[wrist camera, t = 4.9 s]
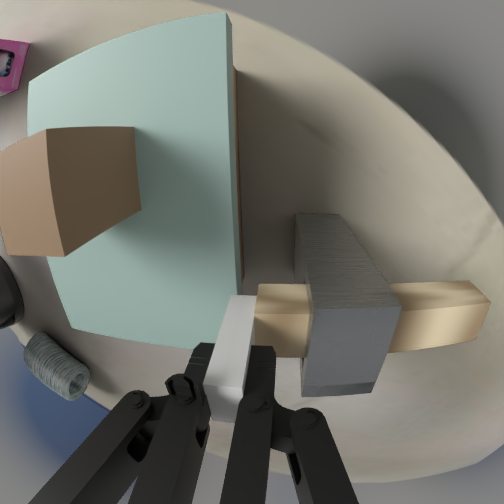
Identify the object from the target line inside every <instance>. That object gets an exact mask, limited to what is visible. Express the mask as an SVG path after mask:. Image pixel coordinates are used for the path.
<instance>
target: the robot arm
mask: <svg viewBox="0 0 504 504" xmlns="http://www.w3.org/2000/svg"><path fill="white" fill-rule="evenodd" d="M256 298H257V296H249V295H231V297H230V300H229V303H228V306H227V309H226V312H225V315H224V319H223V322H222V325H221V328H220V331H219V334H218V337H217V341H216V343H204V342H200V343H199V344H198V345H197V346H196V347H195V348H194V350H193V353H192V355H191V358H190V360H189V364H188V365H187V368H186V370H185V373H184V374H176V375H173V376H171V377H170V378H168V379H167V380H166V382H165V385H166V388H167V390H168V393H169V395H167V396H160V397H149V395H148V394H147V393H146V392H144V391H140V390H135V391H131V392H129V393H127V394H126V395H125V396H124V397H123V398H122V399H121V400H120V401H119V402H118V404H117V405H116V406H115V407H114V408H113V409H112V410H111V411H110V413H109V414H108V415H107V416H106V417H105V418H104V419H103V420H102V422H101V423H100V424H99V425H98V426H97V427H96V428H95V429H94V430H93V432H92V433H91V434H90V435H89V436H88V437H87V438H86V439H85V441H84V442H83V443H82V444H81V445H80V446H79V447H78V448H77V450H76V451H75V452H74V453H73V454H72V455H71V456H70V457H69V459H68V460H67V461H66V462H65V463H64V464H63V465H62V466H61V467H60V469H59V470H58V471H57V472H56V473H55V474H54V476H52V478H51V479H50V480H49V481H48V482H47V483H46V484H45V485H44V486H43V488H42V489H41V490H40V491H39V492H38V493H37V494H36V495H35V497H34V498H33V499H32V500H31V501H30V502H29V503H28V504H117V503H118V501H119V500H120V499H121V498H122V496H123V495H124V494H125V492H126V491H127V490H128V488H129V487H130V486H131V484H132V483H133V482H134V480H135V479H136V477H137V476H138V478H137V481H136V483H135V486H134V488H133V491H132V494H131V496H130V499H129V502H128V504H192V500H193V496H194V492H195V488H196V484H197V480H198V476H199V472H200V468H201V464H202V460H203V456H204V452H205V448H206V444H207V440H208V436H209V432H210V426H209V420H210V416H211V418H212V420H215V421H223V422H232V423H235V427H234V432H233V437H232V443H231V448H230V453H229V458H228V464H227V469H226V474H225V479H224V484H223V489H222V494H221V500H220V504H265V500H266V489H267V480H268V470H269V459H270V448H272V449H275V450H278V451H281V452H284V453H286V455H287V459H288V463H289V467H290V470H291V474H292V478H293V481H294V485H295V489H296V493H297V496H298V500H299V504H359V503H358V501H357V498H356V495H355V493H354V490H353V488H352V485H351V482H350V480H349V477H348V475H347V472H346V470H345V467H344V464H343V462H342V459H341V457H340V454H339V452H338V449H337V447H336V444H335V442H334V439H333V437H332V434H331V432H330V429H329V427H328V424H327V422H326V419H325V417H324V415H323V414H322V412H320V411H319V410H317V409H314V408H301V409H299V410H297V411H294V410H290V409H287V408H284V407H282V406H281V405H279V404H278V403H277V401H276V400H275V397H274V389H275V371H276V352H275V350H274V348H273V346H261V345H255V330H254V310H255V304H256ZM23 314H24V306H23V301H22V297H21V294H20V291H19V289H18V286H17V284H16V282H15V279H14V277H13V275H12V274H11V272H10V270H9V268H8V267H7V265H6V264H5V262H4V261H3V260H2V258H1V257H0V329H3V328H6V327H8V326H11V325H14V324H16V323H17V322H18V321H19V320H20V319H21V318H22V317H23Z"/></svg>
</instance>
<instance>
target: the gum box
mask: <svg viewBox="0 0 504 504" xmlns="http://www.w3.org/2000/svg"><path fill="white" fill-rule="evenodd" d="M28 46H29V43H26V42H20V41H12V40H4V39H0V96H3V95H5V94H8V93H10V92H13V91H16V90H18V86H19V81H20V76H21V73H22V69H23V65H24V61H25V56H26V53H27V49H28Z"/></svg>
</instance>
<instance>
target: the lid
mask: <svg viewBox="0 0 504 504" xmlns="http://www.w3.org/2000/svg"><path fill="white" fill-rule="evenodd" d="M27 134H28V137H27V138H25V139H23V140H21V141H19V142H17V143H15V144H13V145H11V146H9V147H8V148H6V149H4V150H2V151H0V228H1V233H2V237H3V241H4V245H5V248H6V252H7V255H22V256H46V257H47V260H48V264H49V267H50V270H51V273H52V277H53V280H54V283H55V286H56V289H57V291H58V294H59V297H60V300H61V302H62V305H63V308H64V310H65V313H66V315H67V318H68V320H69V322H70V325H71V327H72V328H73V329H77V330H81V331H86V332H90V333H95V334H99V335H104V336H109V337H114V338H120V339H125V340H131V341H136V342H143V343H149V344H156V345H163V346H170V347H178V348H187V349H194V348H195V347H196V346H197V345H198V344H199V343H200V342H204V343H216V341H217V337H218V334H219V331H220V328H221V325H222V322H223V319H224V315H225V312H226V309H227V306H228V303H229V300H230V297H231V295H242V281H241V262H240V242H239V221H238V199H237V176H236V151H235V123H234V91H233V54H232V24H231V21H230V19H229V17H228V15H227V13H226V12H218V13H211V14H204V15H198V16H193V17H188V18H183V19H178V20H174V21H170V22H166V23H162V24H158V25H154V26H151V27H147V28H144V29H141V30H138V31H134V32H131V33H128V34H126V35H123V36H120V37H117V38H115V39H112V40H109V41H107V42H104V43H102V44H100V45H97V46H95V47H93V48H90V49H88V50H86V51H84V52H82V53H79V54H77V55H75V56H73V57H71V58H69V59H67V60H65V61H64V62H62V63H60V64H58V65H56V66H54V67H53V68H51V69H49V70H47V71H46V72H44V73H42V74H41V75H39V76H37V77H36V78H34V79H33V80H31V81H30V82H29V88H28V108H27Z"/></svg>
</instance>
